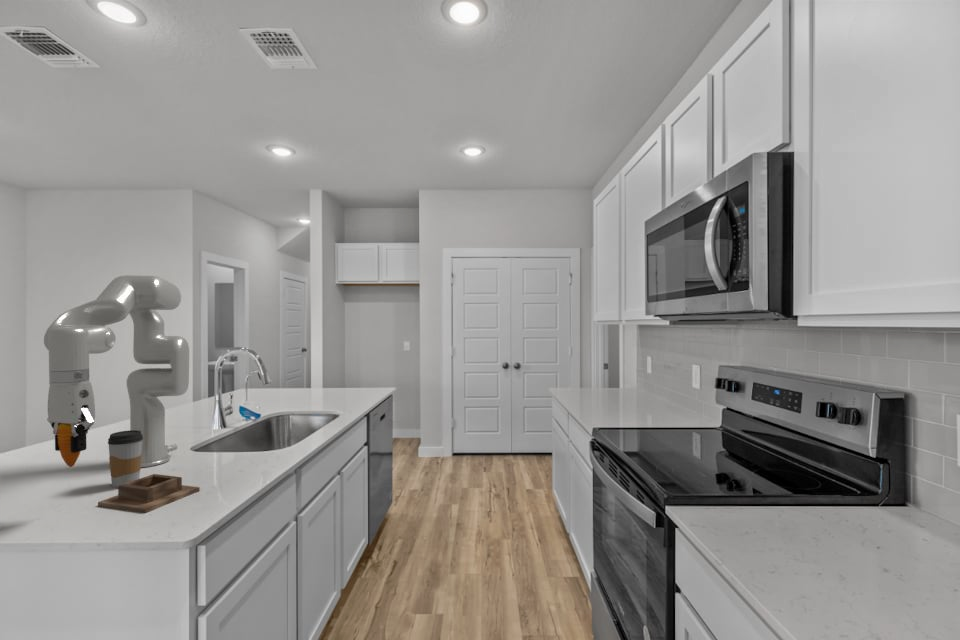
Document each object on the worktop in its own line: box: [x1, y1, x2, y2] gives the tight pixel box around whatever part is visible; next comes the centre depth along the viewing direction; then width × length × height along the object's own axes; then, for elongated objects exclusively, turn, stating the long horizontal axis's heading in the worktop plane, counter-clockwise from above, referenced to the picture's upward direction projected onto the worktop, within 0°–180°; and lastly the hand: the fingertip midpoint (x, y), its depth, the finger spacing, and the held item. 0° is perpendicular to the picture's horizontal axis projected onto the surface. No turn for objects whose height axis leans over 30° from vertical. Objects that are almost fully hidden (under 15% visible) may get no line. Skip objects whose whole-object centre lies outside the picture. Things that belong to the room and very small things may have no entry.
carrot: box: [56, 420, 81, 468], centre depth 117 cm, size 5×5×15 cm
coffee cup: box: [107, 430, 143, 489], centre depth 138 cm, size 8×8×15 cm
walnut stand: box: [97, 473, 201, 514], centre depth 128 cm, size 16×16×4 cm
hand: (70, 449), depth 118 cm, fingers closed on carrot, 4 cm apart
